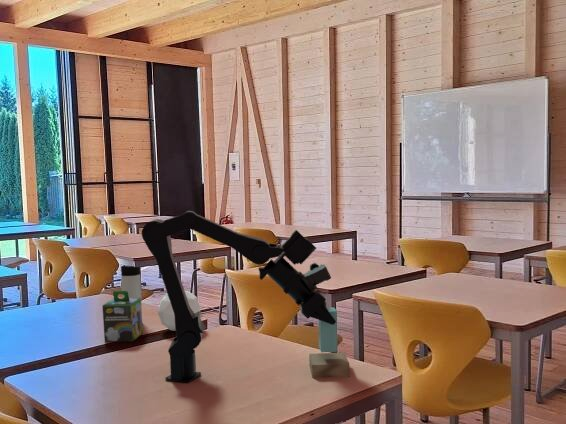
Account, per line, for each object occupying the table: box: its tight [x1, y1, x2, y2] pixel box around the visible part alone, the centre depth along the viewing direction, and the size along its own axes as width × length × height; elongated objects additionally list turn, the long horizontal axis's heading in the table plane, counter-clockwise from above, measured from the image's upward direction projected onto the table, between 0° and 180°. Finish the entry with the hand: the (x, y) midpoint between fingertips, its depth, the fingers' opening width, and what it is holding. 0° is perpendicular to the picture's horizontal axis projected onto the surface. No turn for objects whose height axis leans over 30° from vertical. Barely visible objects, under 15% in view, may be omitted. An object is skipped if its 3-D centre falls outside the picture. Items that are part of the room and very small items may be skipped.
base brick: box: [308, 352, 351, 379], centre depth 146 cm, size 9×9×4 cm
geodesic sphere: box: [157, 289, 201, 332], centre depth 187 cm, size 14×14×14 cm
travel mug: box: [120, 265, 143, 314], centre depth 197 cm, size 6×7×20 cm
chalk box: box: [102, 290, 144, 343], centre depth 180 cm, size 9×9×15 cm
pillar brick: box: [318, 307, 338, 353], centre depth 145 cm, size 4×4×10 cm
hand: (333, 321), depth 145 cm, fingers closed on pillar brick, 4 cm apart
